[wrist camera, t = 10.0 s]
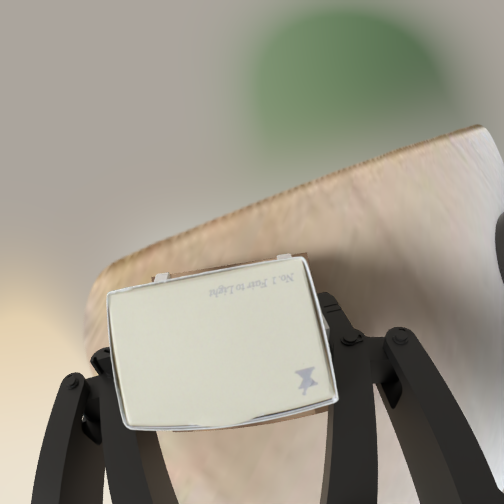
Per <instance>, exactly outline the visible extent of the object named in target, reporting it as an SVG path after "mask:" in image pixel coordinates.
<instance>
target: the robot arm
mask: <svg viewBox="0 0 504 504" xmlns="http://www.w3.org/2000/svg"><path fill="white" fill-rule="evenodd" d="M495 239H496V252H497V258H498V264H499V268H500V272H501V276H502V279H503V282H504V213H502V214H501V216H500V217H499V219H498V222H497V226H496V238H495ZM291 257H292V256H291V254H290V253H288V254H282V255H277V259H284V258H291ZM167 279H171V278H170V274H169V272H168V273H161V274H156V277H155V280H154V282H156V281H162V280H167ZM317 296H318V300H319V304H320V308H321V312H322V317H323V320H324V325H325V330H326V334H327V338H328V343H329V347H330V353H331V358H332V363H333V369H334V373H335V379H336V387H337V392H338V397H339V400H338V401H337V402H335V403H333V404H330V405H328V424H327V440H326V453H325V464H324V474H323V483H322V492H321V499H320V504H377V492H378V454H377V431H376V415H375V403H374V393H373V384H374V383H375V384H376V386H377V388H378V391H379V393H380V396H381V398H382V400H383V403H384V405H385V408H386V410H387V412H388V415H389V417H390V420H391V422H392V425H393V427H394V430H395V433H396V435H397V438H398V440H399V443H400V446H401V448H402V451H403V454H404V457H405V459H406V462H407V465H408V468H409V471H410V474H411V477H412V479H413V482H414V486H415V489H416V492H417V495H418V498H419V501H420V504H504V493H502V492H501V491H500V490H499V489H498V487H497V485H496V482H495V480H494V477H493V475H492V472H491V470H490V468H489V465H488V463H487V461H486V459H485V456H484V454H483V452H482V450H481V448H480V446H479V444H478V441H477V439H476V437H475V435H474V433H473V431H472V429H471V428H470V426H469V424H468V422H467V420H466V418H465V416H464V414H463V412H462V411H461V409H460V407H459V405H458V403H457V402H456V400H455V398H454V396H453V395H452V393H451V391H450V390H449V388H448V386H447V384H446V383H445V381H444V379H443V378H442V376H441V375H440V373H439V371H438V370H437V368H436V366H435V365H434V363H433V362H432V360H431V359H430V357H429V356H428V354H427V352H426V351H425V349H424V348H423V346H422V345H421V343H420V342H419V340H418V339H417V337H416V336H415V334H414V333H413V332H412V331H411V330H409V329H407V328H403V327H394V328H392V329H390V330H389V331H388V332H387V333H386V336H385V337H366V336H365V335H364V334H363V333H362V332H361V331H359V330H356V329H354V328H353V327H352V325H351V323H350V322H349V320H348V319H347V317H346V315H345V314H344V312H343V310H341V307H340V306H339V305H338V302H337V301H336V299H335V298H334V297H333V296H332V295H330V294H329V293H327V292H324V293H319V294H317ZM90 362H91V364H92V365H93V367H94V368H95V370H96V371H97V373H98V374H99V375H98V376H95V377H92V378H88V379H85V378H84V376H83V375H82V374H80V373H76V372H75V373H71V374H69V375H67V376H66V377H65V378H64V379H63V381H62V383H61V385H60V388H59V391H58V393H57V396H56V400H55V402H54V405H53V408H52V412H51V415H50V418H49V421H48V425H47V428H46V432H45V436H44V439H43V443H42V447H41V451H40V456H39V460H38V465H37V470H36V475H35V481H34V486H33V493H32V500H31V504H103V487H104V473H105V467H106V473H107V479H108V485H109V490H110V495H111V500H112V504H179V503H178V500H177V498H176V495H175V492H174V489H173V487H172V484H171V481H170V478H169V475H168V472H167V469H166V465H165V462H164V459H163V455H162V452H161V448H160V445H159V441H158V437H157V433H156V431H145V430H131V429H129V428H127V427H126V426H125V425H124V423H123V420H122V416H121V412H120V407H119V402H118V397H117V392H116V387H115V382H114V376H113V369H112V362H111V354H110V347H106V348H102V349H100V350H98V351H97V352H96V353H94V355H93V356H92V357H91V360H90ZM83 416H84V417H83ZM82 418H83V420H82Z"/></svg>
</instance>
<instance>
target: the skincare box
mask: <svg viewBox="0 0 504 504" xmlns="http://www.w3.org/2000/svg"><path fill="white" fill-rule="evenodd" d="M106 300H107V319H108V334H109V344H110V354H111V362H112V369H113V376H114V382H115V387H116V392H117V397H118V402H119V407H120V412H121V416H122V420H123V423H124V425H125V426H126V427H127V428H129V429H131V430H145V431H185V430H203V429H217V428H226V427H233V426H239V425H245V424H251V423H257V422H263V421H268V420H272V419H277V418H281V417H286V416H290V415H294V414H298V413H302V412H305V411H309V410H313V409H316V408H319V407H323V406H326V405H330V404H333V403H335V402H337V401H338V400H339V397H338V392H337V387H336V379H335V373H334V369H333V363H332V358H331V353H330V347H329V343H328V338H327V334H326V330H325V325H324V320H323V317H322V312H321V308H320V304H319V300H318V296H317V293H316V289H315V286H314V283H313V279H312V276H311V272H310V269H309V266H308V263H307V261H306V259H305V258H304V257H302V256H299V257H291V258H284V259H277V260H271V261H263V262H258V263H253V264H246V265H240V266H235V267H230V268H224V269H218V270H213V271H207V272H203V273H198V274H193V275H188V276H182V277H177V278H172V279H167V280H162V281H156V282H152V283H147V284H143V285H137V286H132V287H126V288H123V289H118V290H113V291H110V292H108V293H107V299H106Z"/></svg>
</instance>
